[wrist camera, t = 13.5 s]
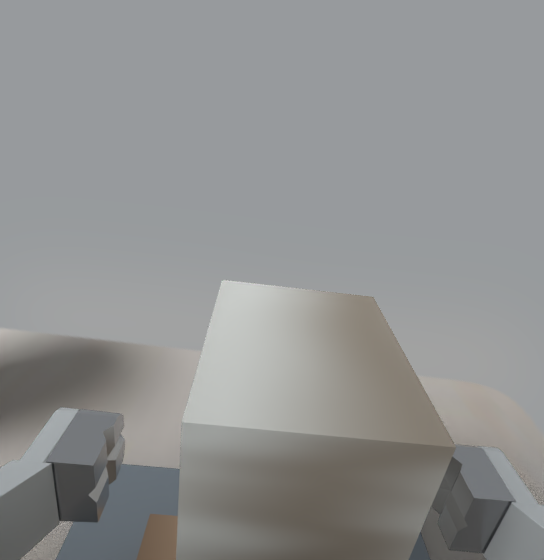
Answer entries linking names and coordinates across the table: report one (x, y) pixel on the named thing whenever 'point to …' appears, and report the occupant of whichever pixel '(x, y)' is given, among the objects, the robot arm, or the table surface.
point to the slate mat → (138, 516)
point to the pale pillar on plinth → (301, 435)
